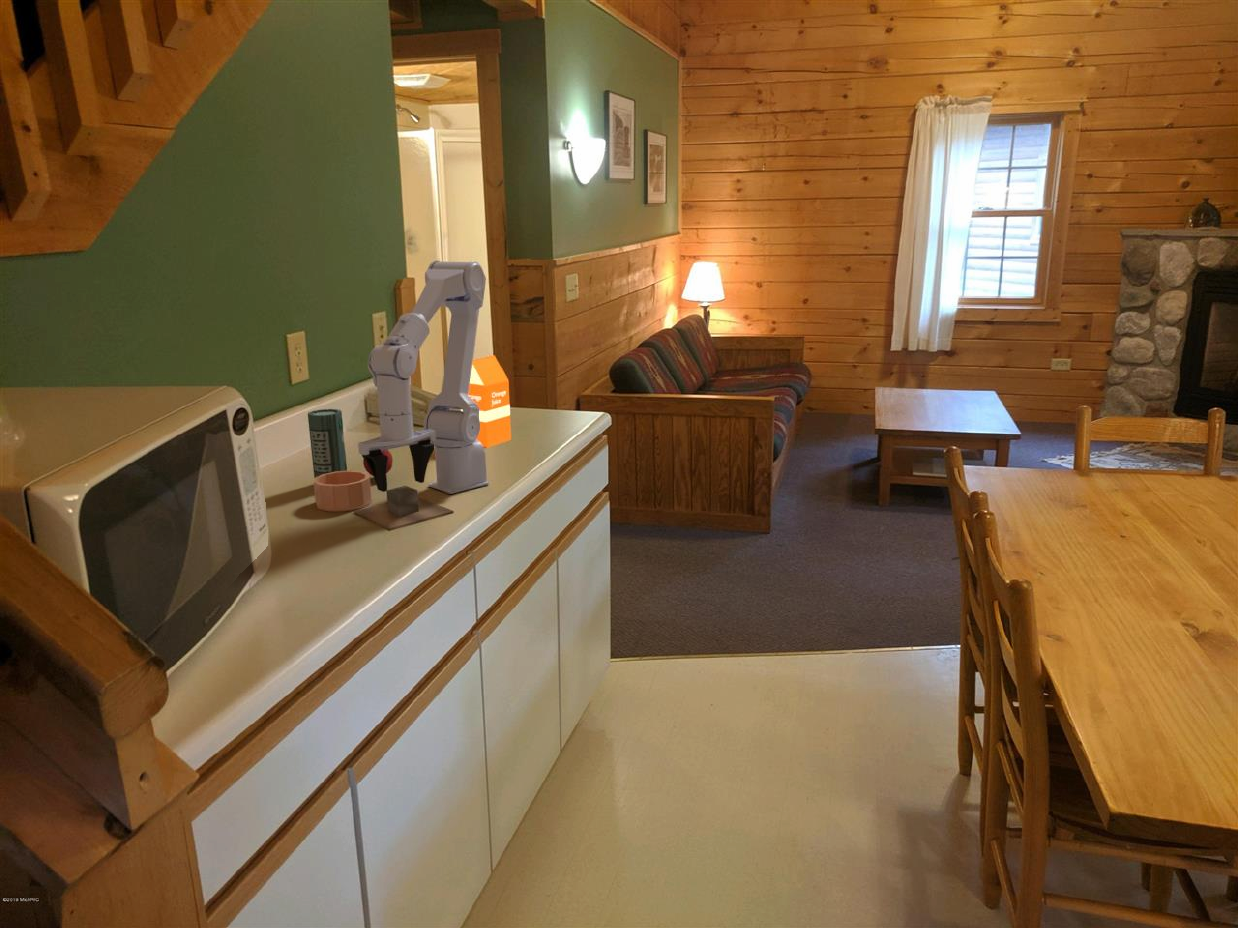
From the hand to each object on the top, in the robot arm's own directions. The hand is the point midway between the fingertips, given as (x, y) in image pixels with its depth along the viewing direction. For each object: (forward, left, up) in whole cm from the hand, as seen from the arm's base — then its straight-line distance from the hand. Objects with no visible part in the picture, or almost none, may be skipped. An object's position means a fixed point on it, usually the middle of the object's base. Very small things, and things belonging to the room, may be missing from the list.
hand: (401, 485), depth 167 cm
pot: (+5, -13, -5) cm, 15 cm away
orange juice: (-42, -33, -5) cm, 54 cm away
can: (+1, -26, -5) cm, 27 cm away
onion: (-8, -23, -5) cm, 25 cm away
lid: (0, 0, -6) cm, 6 cm away
